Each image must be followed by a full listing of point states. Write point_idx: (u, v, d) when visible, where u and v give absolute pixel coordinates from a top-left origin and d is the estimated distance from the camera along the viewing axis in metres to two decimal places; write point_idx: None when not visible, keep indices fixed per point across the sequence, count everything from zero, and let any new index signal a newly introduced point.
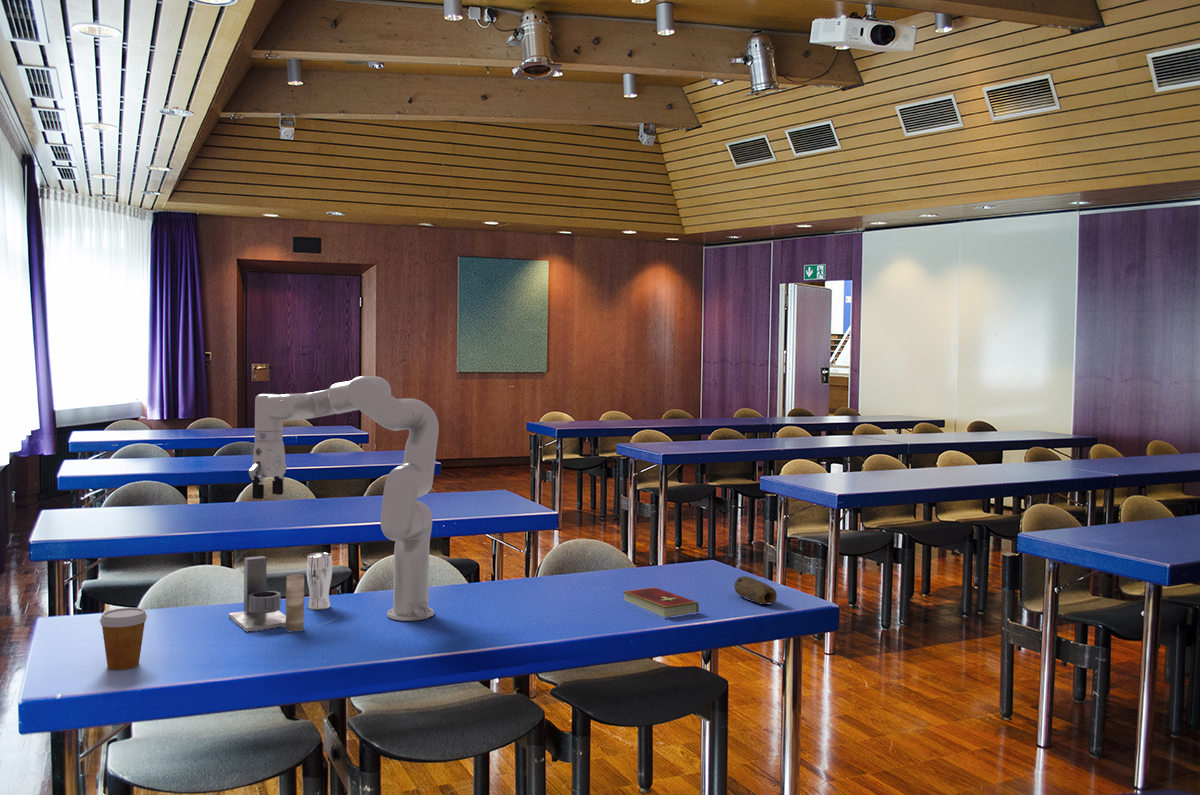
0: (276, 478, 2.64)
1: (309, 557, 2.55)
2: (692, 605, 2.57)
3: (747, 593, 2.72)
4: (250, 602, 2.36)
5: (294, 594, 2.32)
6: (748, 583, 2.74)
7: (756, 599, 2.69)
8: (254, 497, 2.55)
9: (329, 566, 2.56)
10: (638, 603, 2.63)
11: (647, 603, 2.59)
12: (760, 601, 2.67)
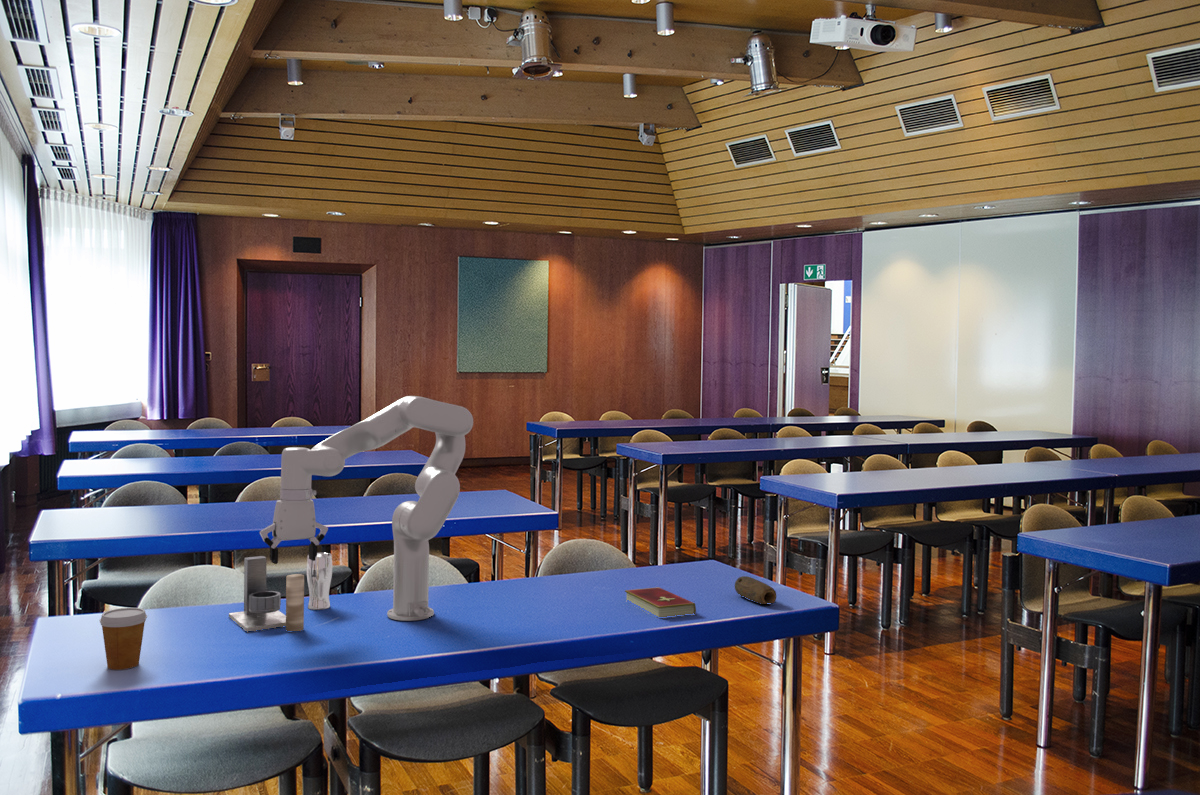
0: None
1: None
2: (689, 606, 2.56)
3: (747, 593, 2.72)
4: (250, 602, 2.36)
5: (294, 594, 2.32)
6: (748, 583, 2.74)
7: (756, 599, 2.69)
8: None
9: (329, 566, 2.56)
10: (637, 603, 2.64)
11: (645, 603, 2.60)
12: (760, 601, 2.67)
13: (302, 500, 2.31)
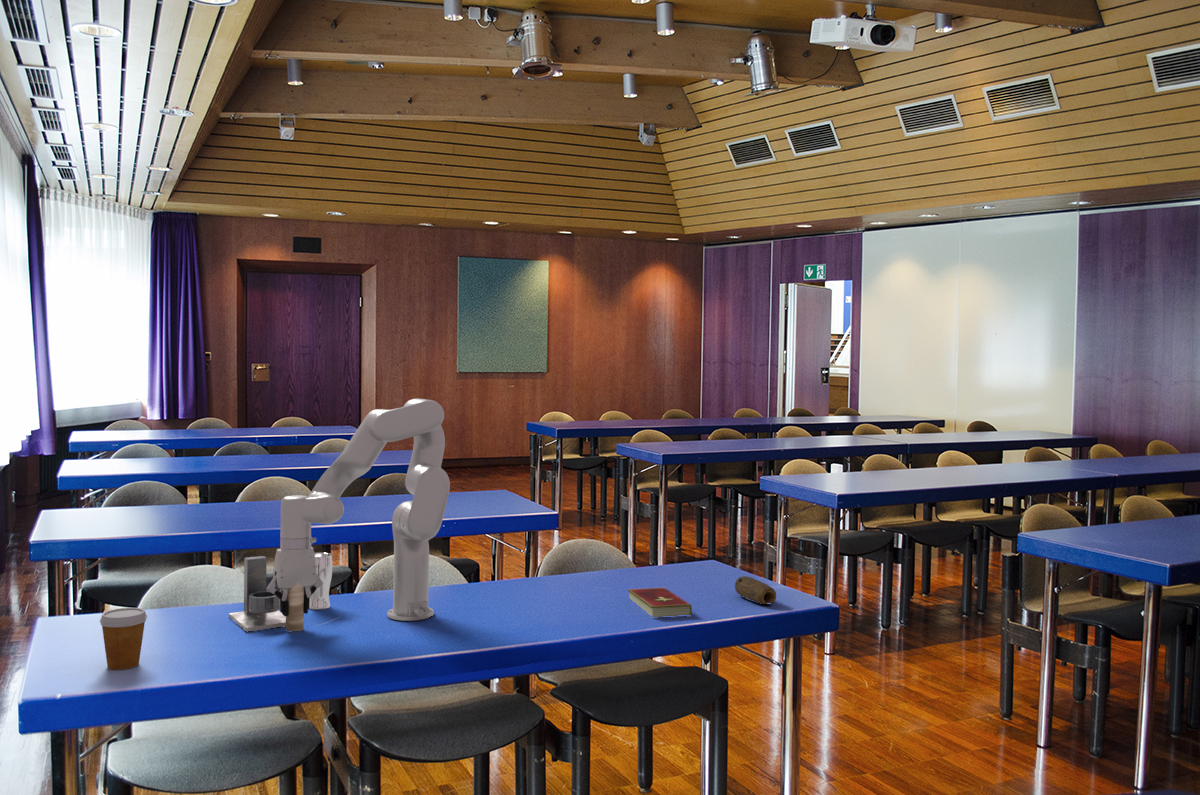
0: None
1: None
2: (685, 607, 2.55)
3: (747, 593, 2.72)
4: (250, 602, 2.36)
5: (294, 594, 2.32)
6: (748, 583, 2.74)
7: (756, 599, 2.69)
8: None
9: (329, 566, 2.56)
10: (637, 602, 2.65)
11: (642, 602, 2.60)
12: (759, 601, 2.67)
13: (302, 549, 2.31)
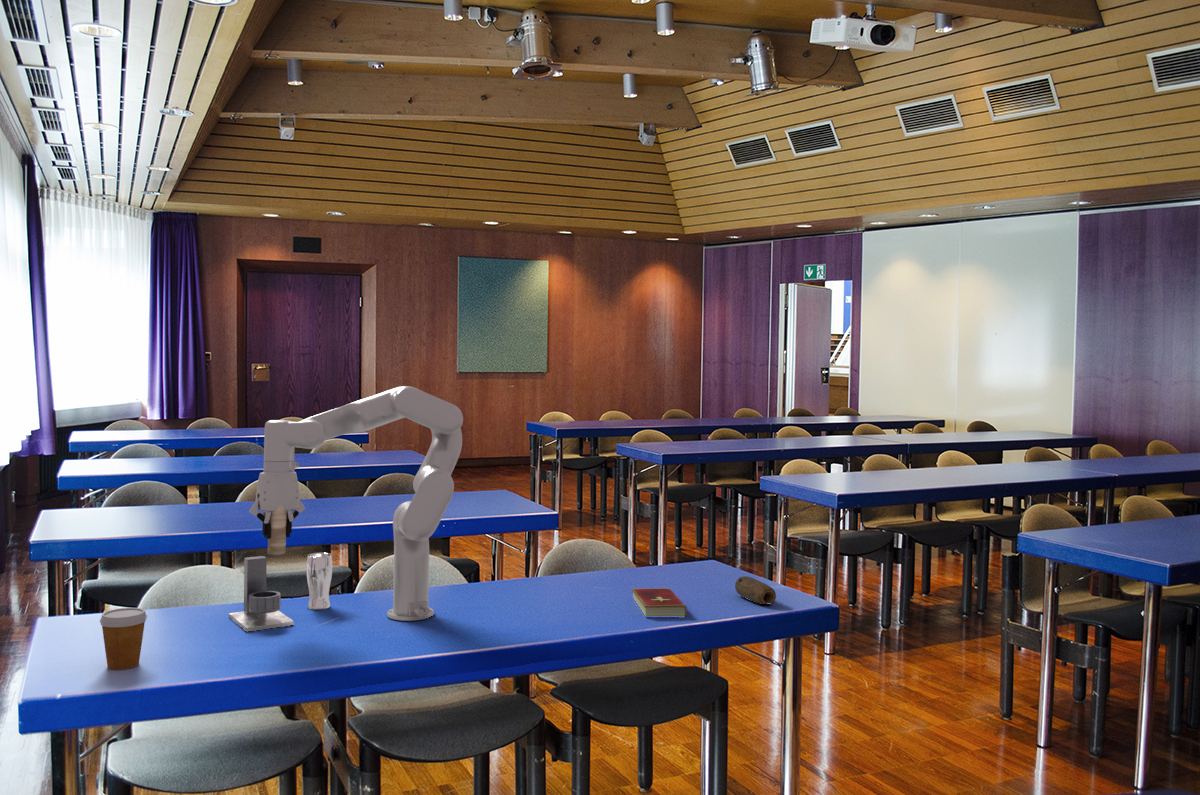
0: None
1: (309, 557, 2.55)
2: (679, 608, 2.54)
3: (747, 593, 2.72)
4: (250, 602, 2.36)
5: (277, 517, 2.34)
6: (748, 583, 2.74)
7: (756, 599, 2.69)
8: None
9: (329, 566, 2.56)
10: (637, 601, 2.65)
11: (640, 601, 2.61)
12: (759, 601, 2.67)
13: (285, 472, 2.33)
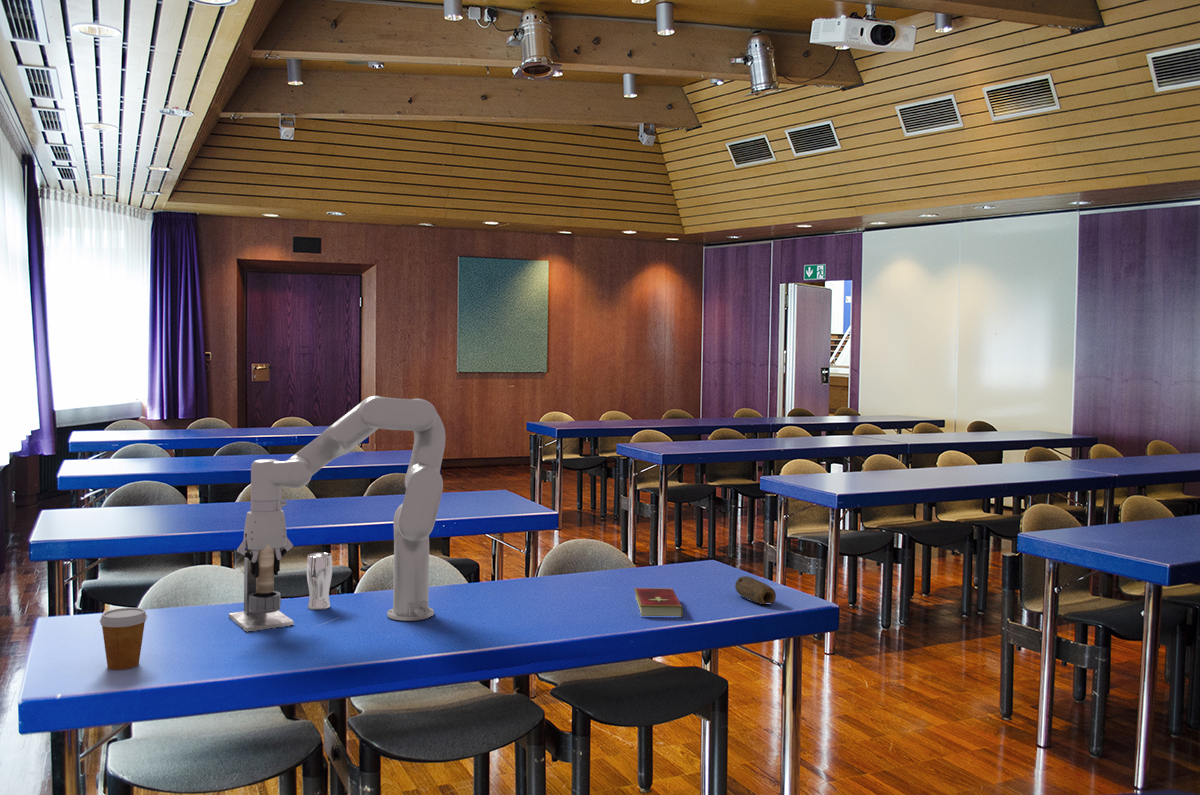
0: None
1: (309, 557, 2.55)
2: (675, 608, 2.53)
3: (747, 593, 2.72)
4: (250, 602, 2.36)
5: (264, 556, 2.36)
6: (748, 583, 2.74)
7: (755, 599, 2.69)
8: None
9: (329, 566, 2.56)
10: (637, 601, 2.66)
11: None
12: (759, 601, 2.67)
13: (272, 511, 2.35)
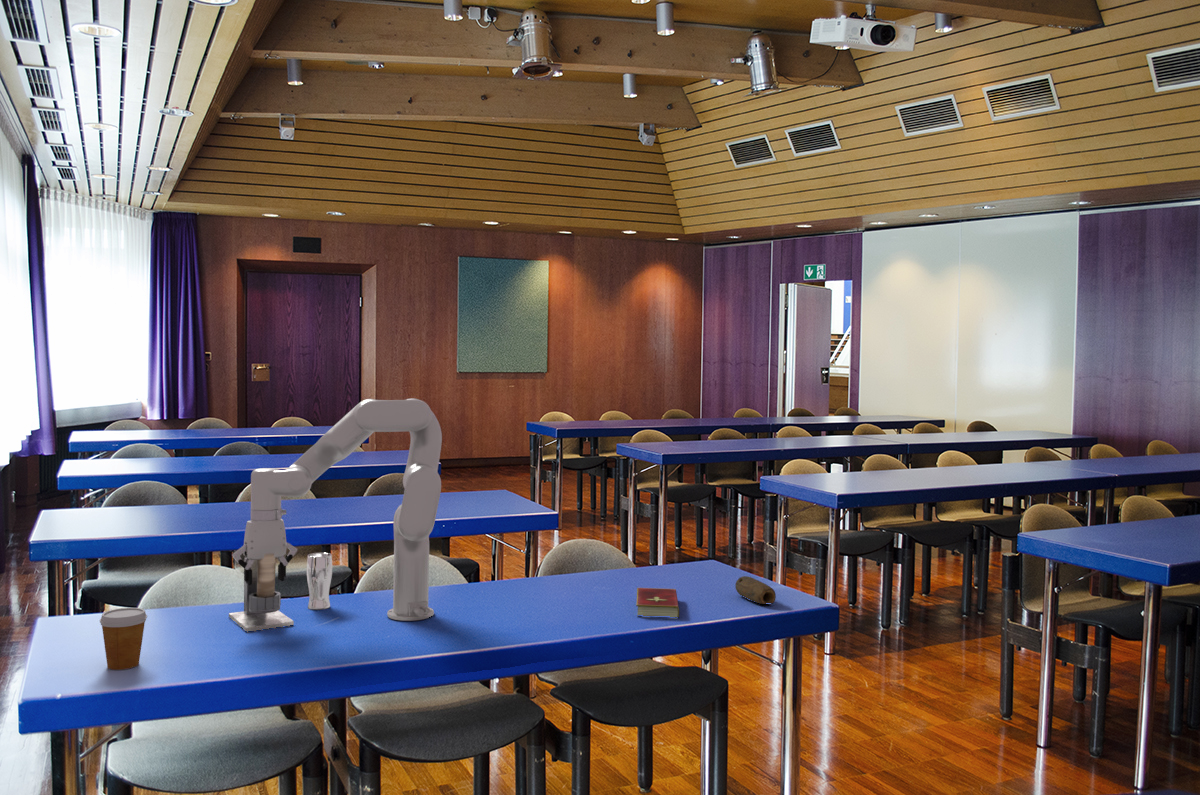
0: None
1: (309, 557, 2.55)
2: (672, 609, 2.53)
3: (747, 593, 2.72)
4: (250, 602, 2.36)
5: (265, 570, 2.36)
6: (748, 583, 2.74)
7: (755, 599, 2.69)
8: None
9: (329, 566, 2.56)
10: None
11: None
12: (759, 601, 2.67)
13: (272, 520, 2.35)
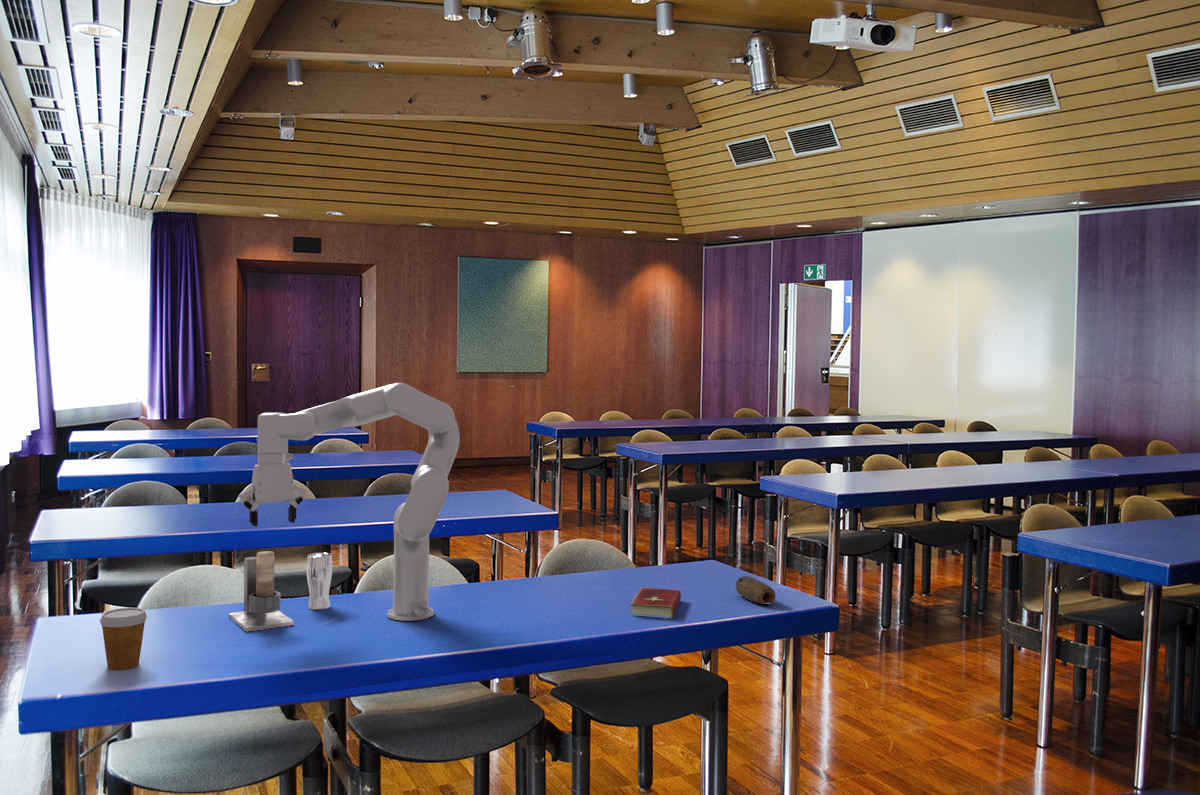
0: None
1: (309, 557, 2.55)
2: (666, 609, 2.53)
3: (747, 593, 2.72)
4: (250, 602, 2.36)
5: (264, 570, 2.36)
6: (748, 582, 2.74)
7: (755, 599, 2.69)
8: None
9: (329, 566, 2.56)
10: None
11: None
12: (758, 601, 2.67)
13: (279, 463, 2.37)
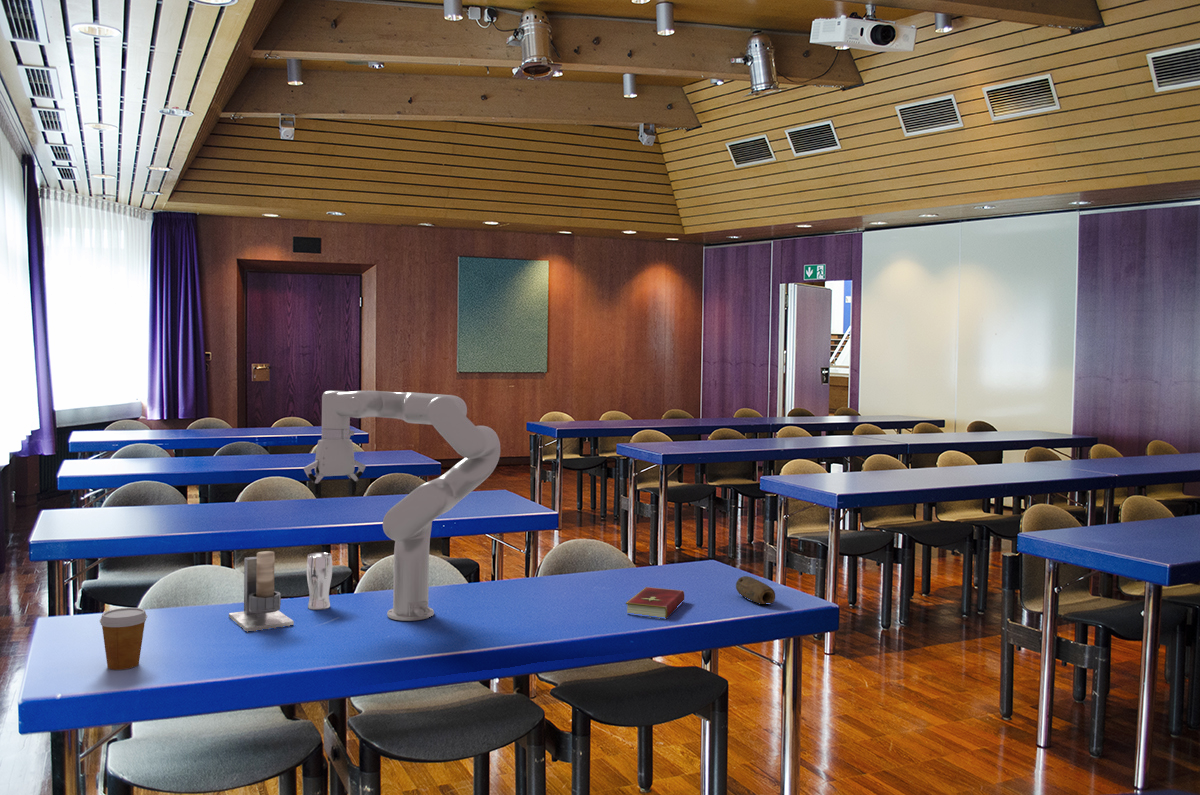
0: None
1: (309, 557, 2.55)
2: (660, 609, 2.52)
3: (747, 593, 2.72)
4: (250, 602, 2.36)
5: (264, 570, 2.36)
6: (748, 582, 2.74)
7: (755, 599, 2.69)
8: None
9: (329, 566, 2.56)
10: None
11: None
12: (758, 601, 2.67)
13: (342, 439, 2.50)
